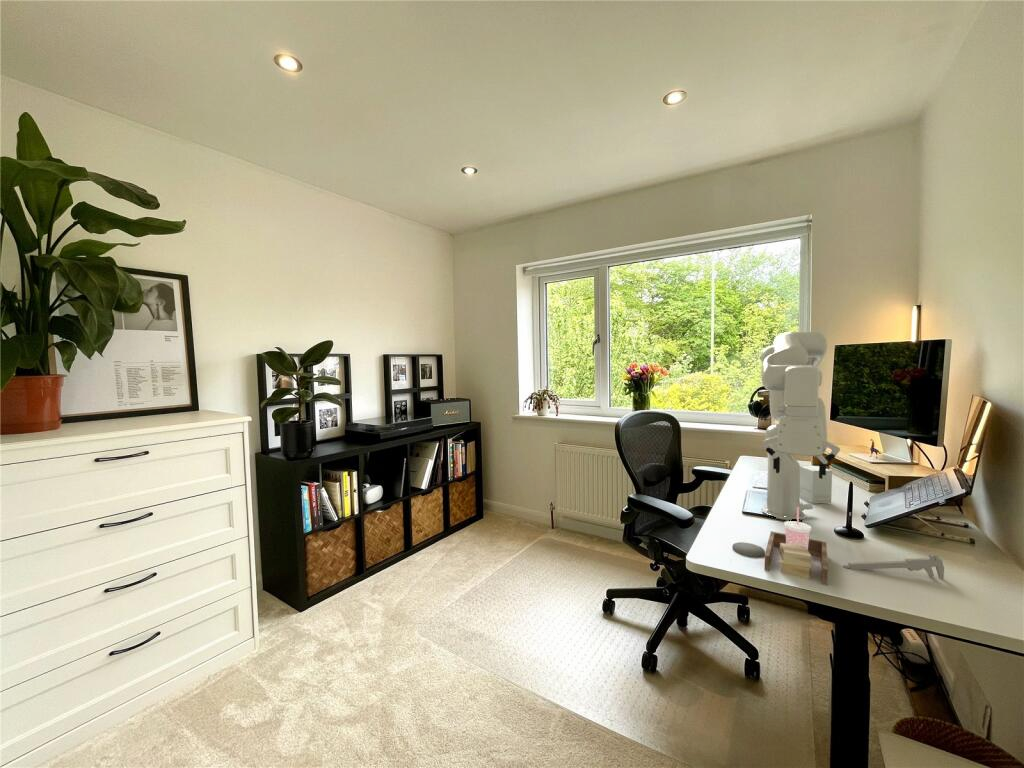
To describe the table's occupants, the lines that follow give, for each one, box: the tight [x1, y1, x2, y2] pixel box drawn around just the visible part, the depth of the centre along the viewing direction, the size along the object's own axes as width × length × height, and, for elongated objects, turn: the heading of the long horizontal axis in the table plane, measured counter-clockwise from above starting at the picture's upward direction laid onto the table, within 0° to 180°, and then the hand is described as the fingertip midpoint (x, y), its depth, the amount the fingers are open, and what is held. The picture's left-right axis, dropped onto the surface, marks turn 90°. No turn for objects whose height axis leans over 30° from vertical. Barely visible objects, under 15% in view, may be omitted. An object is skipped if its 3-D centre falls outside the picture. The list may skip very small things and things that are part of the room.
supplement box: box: [800, 465, 833, 504], centre depth 159 cm, size 7×7×13 cm
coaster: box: [732, 541, 766, 558], centre depth 119 cm, size 8×8×1 cm
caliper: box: [842, 553, 945, 580], centre depth 106 cm, size 20×1×6 cm, turn 72°
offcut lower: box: [779, 557, 811, 580], centre depth 107 cm, size 6×6×3 cm
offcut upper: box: [779, 543, 812, 568], centre depth 107 cm, size 6×6×3 cm
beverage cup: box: [783, 507, 812, 550], centre depth 114 cm, size 6×6×14 cm
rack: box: [763, 531, 829, 586], centre depth 111 cm, size 18×13×4 cm
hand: (798, 474), depth 113 cm, fingers open, 9 cm apart
